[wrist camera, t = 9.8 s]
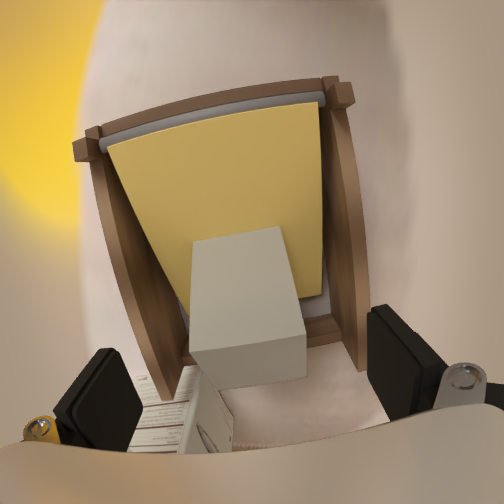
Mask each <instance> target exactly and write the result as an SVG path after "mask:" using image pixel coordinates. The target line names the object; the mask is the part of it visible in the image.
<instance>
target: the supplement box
mask: <svg viewBox="0 0 504 504" xmlns="http://www.w3.org/2000/svg"><path fill="white" fill-rule="evenodd" d="M133 385H134V387H135V389H136V391H137V393H138V395H139V397H140V399H141V401H142V404H143V412H142V415H141V417H140V420H139V422H138V425H137V427H136V430H135V432H134V435H133V437H132V440H131V442H130V445H129V447H128V450H127V452H133V453H154V454H198V453H220V452H232V442H233V425H234V418H233V417H232V415H231V413H230V412H229V410H228V408H227V407H226V405H225V403H224V401H223V400H222V398H221V396H220V394H219V392H218V390H217V389H216V388H215V386H214V385H213V384H212V382H211V381H210V380H209V378H208V377H207V376H206V374H205V373H204V372H203V370H202V369H201V368H200V366H199V365H194V366H189V367H185V368H183V371H182V374H181V377H180V380H179V383H178V387H177V390H176V393H175V396H174V399H173V401H161V398H160V396H159V394H158V392H157V389H156V387H155V385H154V382H153V380H152V378H151V375H145V376H140V377H136V379H135V381H134V382H133Z"/></svg>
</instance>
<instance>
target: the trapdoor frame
mask: <svg viewBox="0 0 504 504" xmlns="http://www.w3.org/2000/svg"><path fill="white" fill-rule="evenodd" d="M314 91H323V93H324V95H325V101H326V104H325V107H318V112H319V128H320V148H321V174H322V234H323V242H324V250H325V258H326V266H327V275H328V284H329V294H330V304H331V314H327V315H322V316H317V317H312V318H307V319H303V322H304V326H305V330H306V343H307V348H310V347H315V346H320V345H324V344H329V343H334V342H338V341H342V342H343V344H344V346H345V347H346V349H347V351H348V353H349V355H350V357H351V359H352V361H353V363H354V365H355V367H356V369H357V371H358V372H361V371H365V370H367V313H368V312H370V294H369V275H368V261H367V248H366V237H365V227H364V218H363V209H362V201H361V194H360V187H359V180H358V173H357V167H356V160H355V154H354V149H353V143H352V138H351V132H350V127H349V122H348V117H347V113H346V108H348V107H349V106H351V105H352V104H354V103H355V98H354V94H353V89H352V85H351V82H339V78H338V76H325V77H322V78H321V79H320V78H311V79H300V80H291V81H282V82H274V83H267V84H260V85H254V86H248V87H242V88H236V89H231V90H225V91H220V92H215V93H211V94H206V95H202V96H197V97H193V98H189V99H185V100H181V101H177V102H173V103H169V104H166V105H162V106H158V107H155V108H151V109H148V110H145V111H141V112H138V113H135V114H132V115H129V116H126V117H123V118H120V119H117V120H114V121H111V122H108V123H105V124H103V125H101V126H95V127H92V128H90V129H87V130H85V135H86V137H84V138H82V139H79V140H77V141H74V142H72V144H73V152H74V159H75V162H89V163H90V169H91V175H92V180H93V186H94V191H95V196H96V201H97V205H98V210H99V215H100V219H101V223H102V228H103V232H104V236H105V240H106V244H107V248H108V252H109V255H110V259H111V263H112V266H113V270H114V273H115V277H116V280H117V283H118V287H119V290H120V293H121V296H122V299H123V302H124V306H125V309H126V312H127V315H128V317H129V320H130V323H131V326H132V329H133V332H134V334H135V337H136V340H137V343H138V345H139V348H140V350H141V353H142V356H143V358H144V361H145V363H146V366H147V368H148V371H149V373H150V375H151V378H152V380H153V382H154V385H155V387H156V389H157V392H158V394H159V396H160V398H161V401H173V399H174V396H175V393H176V390H177V387H178V383H179V380H180V377H181V374H182V371H183V368H184V366H191V365H198V364H197V362H196V361H195V360H194V358H193V357H192V355H191V354H190V353H189V337H188V336H187V332H186V329H185V326H184V322H183V319H182V316H181V312H180V309H179V305H178V302H177V298H176V294H175V291H174V289H173V287H172V286H171V284H170V282H169V280H168V278H167V276H166V274H165V272H164V270H163V269H162V267H161V265H160V263H159V261H158V259H157V257H156V255H155V253H154V251H153V249H152V247H151V245H150V243H149V241H148V239H147V237H146V235H145V233H144V231H143V229H142V226H141V224H140V222H139V220H138V218H137V216H136V214H135V212H134V209H133V207H132V205H131V203H130V201H129V198H128V196H127V194H126V192H125V190H124V187H123V185H122V183H121V180H120V178H119V176H118V174H117V171H116V169H115V166H114V164H113V162H112V159H111V157H110V154H109V152H107V153H102V151H101V149H100V146H99V140H100V139H101V138H103V137H106V136H109V135H112V134H115V133H118V132H121V131H124V130H127V129H130V128H134V127H137V126H140V125H143V124H147V123H150V122H154V121H157V120H161V119H164V118H168V117H172V116H176V115H180V114H184V113H188V112H192V111H196V110H201V109H205V108H210V107H215V106H219V105H224V104H229V103H235V102H240V101H246V100H252V99H258V98H265V97H271V96H279V95H286V94H295V93H304V92H314Z"/></svg>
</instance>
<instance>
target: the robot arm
mask: <svg viewBox="0 0 504 504" xmlns="http://www.w3.org/2000/svg"><path fill="white" fill-rule="evenodd" d="M367 376H368V379H369V381H370V383H371V385H372V387H373V389H374V391H375V393H376V395H377V396H378V398H379V400H380V402H381V404H382V406H383V408H384V410H385V412H386V414H387V415H388V417H389V419H390V422H387V423H383V424H380V425H376V426H372V427H369V428H365V429H361V430H358V431H354V432H350V433H346V434H342V435H337V436H333V437H329V438H324V439H319V440H314V441H309V442H303V443H298V444H292V445H285V446H278V447H271V448H263V449H255V450H245V451H234V452H220V453H198V454H154V453H133V452H127V450H128V447H129V445H130V442H131V440H132V437H133V435H134V432H135V430H136V427H137V425H138V422H139V420H140V417H141V415H142V412H143V404H142V401H141V399H140V397H139V395H138V393H137V391H136V389H135V387H134V385H133V382H132V380H131V378H130V376H129V373H128V371H127V369H126V367H125V364H124V362H123V360H122V357H121V355H120V353H119V352H118V351H116V350H115V349H114V348H101V349H99V350H98V351H97V352H96V354H95V355H94V356H93V357H92V359H91V360H90V361H89V363H88V364H87V365H86V366H85V368H84V369H83V370H82V372H81V373H80V374H79V376H78V377H77V378H76V380H75V381H74V382H73V383H72V385H71V386H70V388H69V389H68V390H67V392H66V393H65V394H64V396H63V397H62V398H61V400H60V401H59V402H58V404H57V405H56V406H55V408H54V409H53V412H54V413H55V415H56V417H57V418H56V419H55V420H54V419H53V418H52V417H50V416H39V417H36V418H34V419H32V420H31V421H30V422H29V423H28V424H27V425H26V426H25V428H24V430H23V438H24V440H23V441H21V442H16V443H12V444H8V445H5V446H3V447H1V448H0V504H504V384H495V383H488V382H486V381H487V377H486V373H485V371H484V370H483V369H482V368H481V367H480V366H478V365H475V364H472V363H457V364H454V365H452V366H450V367H449V366H448V365H447V364H446V363H445V362H444V361H443V360H442V359H441V358H440V356H438V354H437V353H436V352H435V351H434V350H433V349H432V348H431V347H430V346H429V345H428V344H427V343H426V342H425V341H424V340H423V339H422V338H421V336H420V335H419V334H418V333H416V332H414V331H413V330H412V329H411V328H410V327H409V326H408V325H407V324H406V323H405V322H404V321H403V320H402V319H401V318H400V317H399V316H398V315H397V314H396V313H395V312H394V311H393V310H392V308H391V307H390V306H389V305H387V304H384V305H380V306H375V307H372V308H371V312H368V313H367Z"/></svg>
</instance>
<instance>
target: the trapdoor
mask: <svg viewBox="0 0 504 504" xmlns="http://www.w3.org/2000/svg"><path fill="white" fill-rule="evenodd" d="M325 104H326V101H325V95H324V93H323V91H314V92H304V93H295V94H286V95H279V96H271V97H265V98H258V99H252V100H246V101H240V102H235V103H229V104H224V105H219V106H215V107H210V108H205V109H201V110H196V111H192V112H188V113H184V114H180V115H176V116H172V117H168V118H164V119H161V120H157V121H154V122H150V123H147V124H143V125H140V126H137V127H134V128H130V129H127V130H124V131H121V132H118V133H115V134H112V135H109V136H106V137H103V138H101V139H100V140H99V146H100V149H101V151H102V153H107V152H109V154H110V157H111V159H112V162H113V164H114V166H115V169H116V171H117V174H118V176H119V178H120V180H121V183H122V185H123V187H124V190H125V192H126V194H127V196H128V198H129V201H130V203H131V205H132V207H133V209H134V212H135V214H136V216H137V218H138V220H139V222H140V224H141V226H142V229H143V231H144V233H145V235H146V237H147V239H148V241H149V243H150V245H151V247H152V249H153V251H154V253H155V255H156V257H157V259H158V261H159V263H160V265H161V267H162V269H163V270H164V272H165V274H166V276H167V278H168V280H169V282H170V284H171V286H172V287H173V289H174V291H175V293H176V295H177V297H178V299H179V300H180V302H181V304H182V306H183V308H184V309H185V311H186V313H187V315H188V317H190V295H191V272H192V253H193V242H195V241H201V240H206V239H211V238H216V237H222V236H227V235H232V234H238V233H243V232H248V231H254V230H259V229H265V228H270V227H276V226H280V229H281V233H282V237H283V240H284V244H285V248H286V252H287V256H288V260H289V264H290V268H291V272H292V276H293V280H294V284H295V288H296V292H297V296H298V299H300V298H305V297H310V296H315V295H320V294H321V285H322V174H321V148H320V128H319V112H318V107H325Z"/></svg>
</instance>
